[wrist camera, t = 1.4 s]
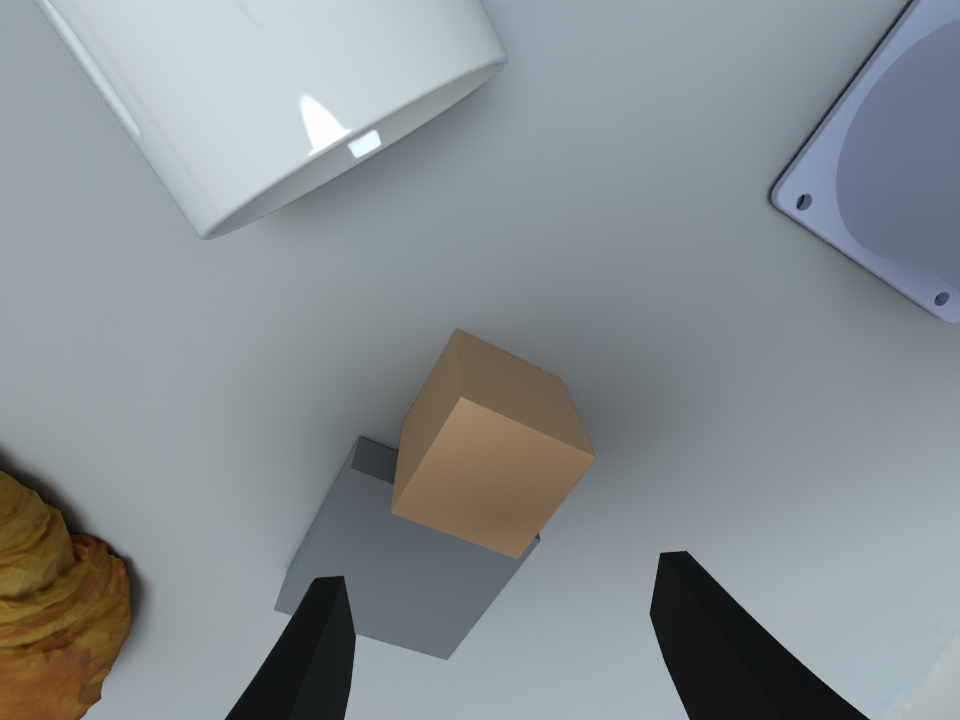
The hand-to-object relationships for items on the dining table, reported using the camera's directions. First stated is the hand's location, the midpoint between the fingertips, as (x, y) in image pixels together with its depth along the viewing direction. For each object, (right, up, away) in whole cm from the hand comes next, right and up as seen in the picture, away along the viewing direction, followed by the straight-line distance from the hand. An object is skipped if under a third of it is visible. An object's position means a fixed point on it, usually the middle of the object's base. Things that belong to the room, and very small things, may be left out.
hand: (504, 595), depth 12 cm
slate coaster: (-4, -2, +11) cm, 11 cm away
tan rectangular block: (0, +4, +8) cm, 9 cm away
